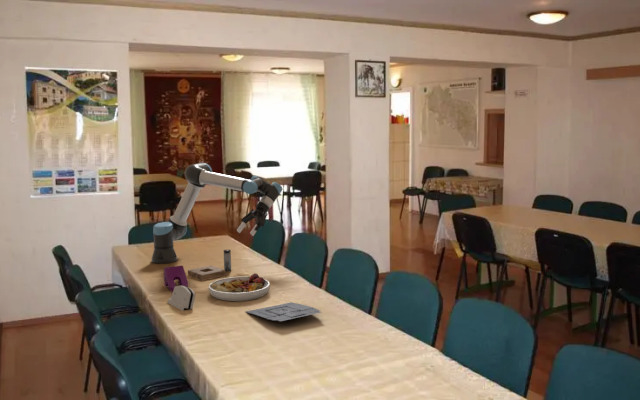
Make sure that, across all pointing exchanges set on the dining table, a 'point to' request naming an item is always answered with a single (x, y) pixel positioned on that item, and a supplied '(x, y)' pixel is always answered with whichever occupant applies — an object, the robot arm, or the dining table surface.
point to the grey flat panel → (285, 311)
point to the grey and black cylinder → (227, 260)
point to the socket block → (206, 272)
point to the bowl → (239, 288)
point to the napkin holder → (182, 298)
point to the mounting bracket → (174, 277)
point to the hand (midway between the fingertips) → (244, 233)
